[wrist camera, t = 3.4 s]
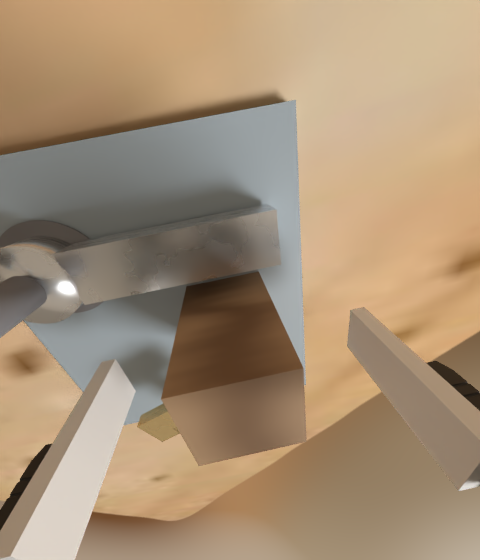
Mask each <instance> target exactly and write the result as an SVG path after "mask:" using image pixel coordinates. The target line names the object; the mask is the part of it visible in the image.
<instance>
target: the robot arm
mask: <svg viewBox="0 0 480 560" xmlns="http://www.w3.org/2000/svg"><path fill="white" fill-rule="evenodd" d="M347 347H348V348H349V349H350V351H351V352H352V353H353V354H354V356H355V357H356V358H357V360H358V361H359V362H360V364H361V365H362V366H363V367H364V369H365V370H366V371H367V373H368V374H369V375H370V377H371V378H372V379H373V380H374V382H375V383H376V384H377V386H378V387H379V388H380V390H381V391H382V392H383V393H384V395H385V396H386V397H387V399H388V400H389V401H390V402H391V404H392V405H393V406H394V408H395V409H396V410H397V412H398V413H399V414H400V416H401V417H402V418H403V420H404V421H405V422H406V423H407V425H408V426H409V427H410V429H411V430H412V431H413V433H414V434H415V435H416V436H417V438H418V439H419V440H420V442H421V443H422V444H423V446H424V447H425V448H426V449H427V451H428V452H429V453H430V454H431V456H432V457H433V459H434V460H435V461H436V462H437V464H438V465H439V466H440V468H441V469H442V470H443V472H444V473H445V474H446V475H447V476H448V478H449V479H450V481H451V482H452V483H453V484H454V486H455V487H456V489H457V490H458V491H461V490H465V489H470V488H474V487H478V486H480V393H479V391H478V390H477V389H475V388H474V387H473V386H472V385H471V384H468V383H467V381H466V380H464V379H463V378H462V377H461V376H460V375H458V374H457V373H456V372H455V371H454V370H452V369H450V368H448V367H447V366H445V365H443V364H441V363H439V362H437V361H433V362H428V363H426V362H424V361H423V360H422V359H421V358H420V357H419V356H418V355H417V354H416V353H414V352H413V351H412V350H411V349H410V348H409V347H408V346H407V345H405V344H404V343H403V342H402V341H401V340H400V339H399V338H398V337H397V336H395V335H394V334H393V333H392V332H391V331H390V330H389V329H388V328H387V327H385V326H384V325H383V324H382V323H381V322H380V321H379V320H378V319H376V318H375V317H374V316H373V315H372V314H371V313H370V312H369V311H368V310H366V309H365V308H364V307H363V308H358V309H353V310H350V322H349V333H348V344H347ZM135 392H136V391H135V389H134V387H133V386H132V384H131V383H130V381H129V379H128V378H127V376H126V375H125V373H124V372H123V370H122V368H121V367H120V365H119V364H118V362H117V360H116V359H113V360H108V361H104V362H101V364H100V365H99V367H98V369H97V370H96V372H95V374H94V375H93V377H92V379H91V380H90V382H89V384H88V385H87V387H86V389H85V390H84V392H83V394H82V395H81V397H80V399H79V400H78V402H77V404H76V405H75V407H74V409H73V410H72V412H71V414H70V415H69V417H68V419H67V420H66V422H65V424H64V425H63V427H62V429H61V430H60V432H59V434H58V435H57V437H56V439H55V440H54V442H53V444H48V445H45V447H44V448H43V449H42V450H41V451H40V452H39V453H38V454H37V455H36V456H35V458H34V459H33V460H32V461H31V462H30V464H29V466H28V467H27V469H26V470H25V472H24V473H23V475H22V477H21V478H20V482H18V483H17V484H16V486H15V488H14V489H13V491H12V492H11V494H10V497H9V498H8V499H7V500H6V502H5V503H4V505H3V507H2V508H1V510H0V560H75V557H76V554H77V552H78V549H79V546H80V543H81V541H82V538H83V535H84V532H85V530H86V527H87V524H88V521H89V519H90V516H91V513H92V510H93V508H94V505H95V502H96V499H97V497H98V494H99V491H100V488H101V486H102V483H103V480H104V477H105V474H106V472H107V469H108V466H109V463H110V461H111V458H112V455H113V452H114V450H115V447H116V444H117V441H118V439H119V436H120V433H121V430H122V428H123V425H124V422H125V419H126V417H127V414H128V411H129V408H130V406H131V403H132V400H133V397H134V394H135Z"/></svg>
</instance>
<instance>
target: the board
mask: <svg viewBox="0 0 480 560" xmlns="http://www.w3.org/2000/svg"><path fill="white" fill-rule="evenodd" d="M264 204H268V205H270V206H272V207H273V208H275V209H277V221H278V232H279V244H280V256H281V265H276V266H271V267H267V268H262V269H257V270H252V271H247V272H242V273H237V274H233V275H228V276H223V277H218V278H213V279H208V280H204V281H199V282H194V283H189V284H184V285H179V286H175V287H170V288H165V289H160V290H155V291H150V292H145V293H141V294H136V295H131V296H126V297H121V298H116V299H112V300H107V301H102V302H97V303H92V304H87V305H84V303H83V304H82V305H81V306H80V307H79V308H78V309H77V310H76V311H75V312H74V313H73V314H72V315H71V316H70V317H68V318H67V319H65V320H62V321H60V322H56V323H48V324H40V323H32V322H27V321H24V319H25V318H26V317H27V316H29V315H30V314H31V313H33V312H34V311H35V310H36V309H38V308H39V307H40V306H42V305H43V304H44V303H45V302H46V300H47V294H46V291H45V289H44V288H43V287H42V286H41V285H40V284H39V283H38V282H36V281H35V280H33V279H31V278H28V277H24V276H13V277H10V278H8V279H6V280H4V281H2V282H0V338H1V337H2V336H3V335H4V334H6V333H7V332H8V331H10V330H11V329H12V328H13V327H15V326H16V325H17V324H19V323H20V322H21V321H22V320H23V321H24V322H25V323H26V324H27V325H28V327H29V328H30V329H31V330H32V331H33V333H34V334H35V335H36V336H37V337H38V339H39V340H40V341H41V342H42V343H43V344H44V346H45V347H46V348H47V349H48V350H49V352H50V353H51V354H52V355H53V356H54V358H55V359H56V360H57V361H58V362H59V364H60V365H61V366H62V367H63V368H64V370H65V371H66V372H67V373H68V374H69V376H70V377H71V378H72V379H73V380H74V382H75V383H76V384H77V385H78V386H79V388H80V389H81V390H82V391H83V392H84V390H85V389H86V387H87V385H88V384H89V382H90V380H91V379H92V377H93V375H94V374H95V372H96V370H97V369H98V367H99V365H100V364H101V362H104V361H108V360H113V359H116V360H117V362H118V364H119V365H120V367H121V368H122V370H123V372H124V373H125V375H126V376H127V378H128V379H129V381H130V383H131V384H132V386H133V387H134V389H135V391H136V392H135V394H134V397H133V400H132V403H131V406H130V408H129V411H128V414H127V417H126V419H125V422H124V425H127V424H131V423H136V422H139V419H140V416H141V415H142V414H144V413H146V412H148V411H150V410H152V409H154V408H156V407H157V406H159V405H161V404H163V402H162V400H161V397H162V392H163V388H164V384H165V379H166V375H167V370H168V366H169V361H170V357H171V353H172V348H173V344H174V339H175V335H176V330H177V326H178V322H179V317H180V313H181V308H182V304H183V300H184V295H185V291H186V286H191V285H196V284H201V283H206V282H210V281H215V280H220V279H225V278H230V277H235V276H239V275H244V274H249V273H254V272H259V273H260V275H261V278H262V280H263V282H264V284H265V286H266V288H267V290H268V293H269V295H270V297H271V299H272V301H273V303H274V306H275V308H276V310H277V312H278V314H279V316H280V319H281V321H282V323H283V325H284V327H285V329H286V331H287V334H288V336H289V338H290V340H291V342H292V344H293V347H294V349H295V351H296V353H297V355H298V357H299V359H300V362H301V364H302V366H303V368H304V385H306V377H305V349H304V321H303V292H302V264H301V236H300V208H299V180H298V151H297V123H296V100H293V101H287V102H282V103H277V104H271V105H266V106H261V107H255V108H250V109H245V110H239V111H234V112H229V113H223V114H218V115H213V116H207V117H202V118H197V119H191V120H186V121H181V122H175V123H170V124H165V125H159V126H154V127H149V128H143V129H138V130H133V131H127V132H122V133H117V134H112V135H106V136H101V137H96V138H90V139H85V140H80V141H74V142H69V143H64V144H58V145H53V146H48V147H42V148H37V149H32V150H26V151H21V152H16V153H10V154H5V155H0V248H2V247H5V246H8V245H11V244H13V243H16V242H19V241H22V240H25V239H27V238H31V237H36V236H47V237H53V238H57V239H61V240H63V241H66V242H68V243H70V244H73V243H75V242H78V241H83V240H88V239H93V238H98V237H103V236H108V235H113V234H118V233H123V232H129V231H134V230H139V229H144V228H149V227H154V226H159V225H164V224H169V223H174V222H179V221H184V220H189V219H194V218H199V217H204V216H209V215H214V214H219V213H224V212H229V211H234V210H239V209H244V208H249V207H254V206H259V205H264Z"/></svg>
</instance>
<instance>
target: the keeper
mask: <svg viewBox="0 0 480 560" xmlns="http://www.w3.org/2000/svg"><path fill="white" fill-rule="evenodd" d="M137 427H138V428H140V429H141V430H143V431H145V432H147V433H148V434H150V435H152V436H153V437H155V438H157V439H158V440H160V441H162V442H163V441H165V440H167V439H169V438H171V437H173V436H175V435H177V434H180V432H179V430H178V428H177V427H176V425H175V423H174V421H173V420H172V418H171V416H170V414H169V413H168V411H167V409H166V407H165V406H164V404H161V405H159V406H157V407H156V408H154V409H152V410H150V411H148V412H146V413H144V414H142V415H141V416H140V419H139V423H138V426H137Z"/></svg>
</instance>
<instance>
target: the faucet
mask: <svg viewBox="0 0 480 560" xmlns="http://www.w3.org/2000/svg"><path fill="white" fill-rule="evenodd" d="M276 265H281V256H280V244H279V232H278V221H277V209H275V208H273V207H272V206H270V205H268V204H264V205H259V206H254V207H249V208H244V209H239V210H234V211H229V212H224V213H219V214H214V215H209V216H204V217H199V218H194V219H189V220H184V221H179V222H174V223H169V224H164V225H159V226H154V227H149V228H144V229H139V230H134V231H129V232H123V233H118V234H113V235H108V236H103V237H98V238H93V239H88V240H83V241H78V242H75V243H73V244H70V243H68V242H66V241H63V240H61V239H57V238H53V237H47V236H36V237H31V238H27V239H25V240H22V241H19V242H16V243H13V244H11V245H8V246H5V247H2V248H0V282H2V281H4V280H6V279H8V278H10V277H13V276H24V277H28V278H31V279H33V280H35V281H36V282H38V283H39V284H40V285H41V286H42V287H43V288H44V289H45V291H46V294H47V300H46V302H45V303H44V304H43V305H42V306H40V307H39V308H38V309H36V310H35V311H34V312H33V313H31V314H30V315H29V316H27V317H26V318H25V319H24V321H27V322H32V323H40V324H48V323H56V322H60V321H62V320H65V319H67V318H68V317H70V316H71V315H72V314H73V313H74V312H75V311H76V310H77V309H78V308H79V307H80V306H81V305H82V304H83V303H84V305H87V304H92V303H97V302H102V301H107V300H112V299H116V298H121V297H126V296H131V295H136V294H141V293H145V292H150V291H155V290H160V289H165V288H170V287H175V286H179V285H184V284H189V283H194V282H199V281H204V280H208V279H213V278H218V277H223V276H228V275H233V274H237V273H242V272H247V271H252V270H257V269H262V268H267V267H271V266H276Z"/></svg>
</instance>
